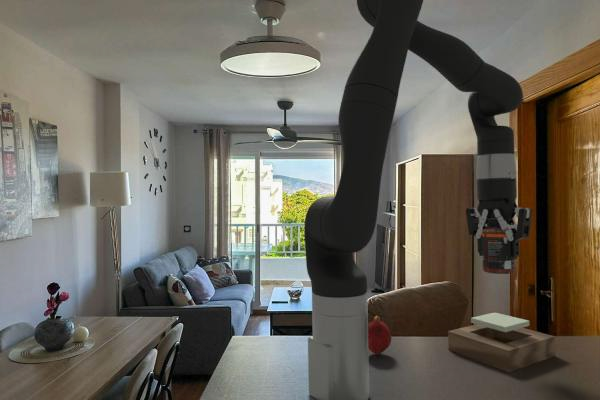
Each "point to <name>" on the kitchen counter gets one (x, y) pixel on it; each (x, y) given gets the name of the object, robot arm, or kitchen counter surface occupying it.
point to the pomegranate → (378, 336)
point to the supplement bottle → (495, 249)
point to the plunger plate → (500, 322)
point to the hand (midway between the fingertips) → (497, 257)
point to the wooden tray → (502, 346)
